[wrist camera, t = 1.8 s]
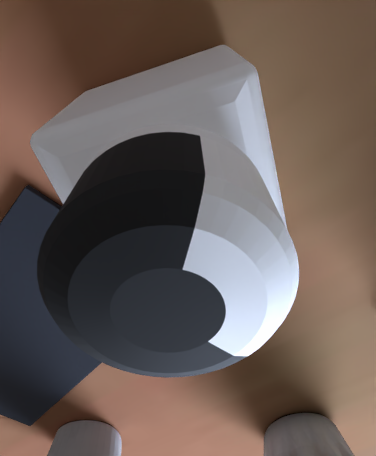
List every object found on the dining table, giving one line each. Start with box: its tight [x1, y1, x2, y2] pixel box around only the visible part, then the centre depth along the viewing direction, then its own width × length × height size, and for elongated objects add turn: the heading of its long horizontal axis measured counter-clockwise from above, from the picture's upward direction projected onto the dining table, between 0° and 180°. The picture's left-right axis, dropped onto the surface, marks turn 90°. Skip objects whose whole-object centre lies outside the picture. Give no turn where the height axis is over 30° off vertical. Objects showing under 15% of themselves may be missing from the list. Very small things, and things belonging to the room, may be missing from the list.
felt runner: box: [0, 185, 102, 426], centre depth 25 cm, size 11×20×1 cm, turn 139°
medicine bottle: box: [30, 45, 299, 377], centre depth 13 cm, size 7×7×12 cm
